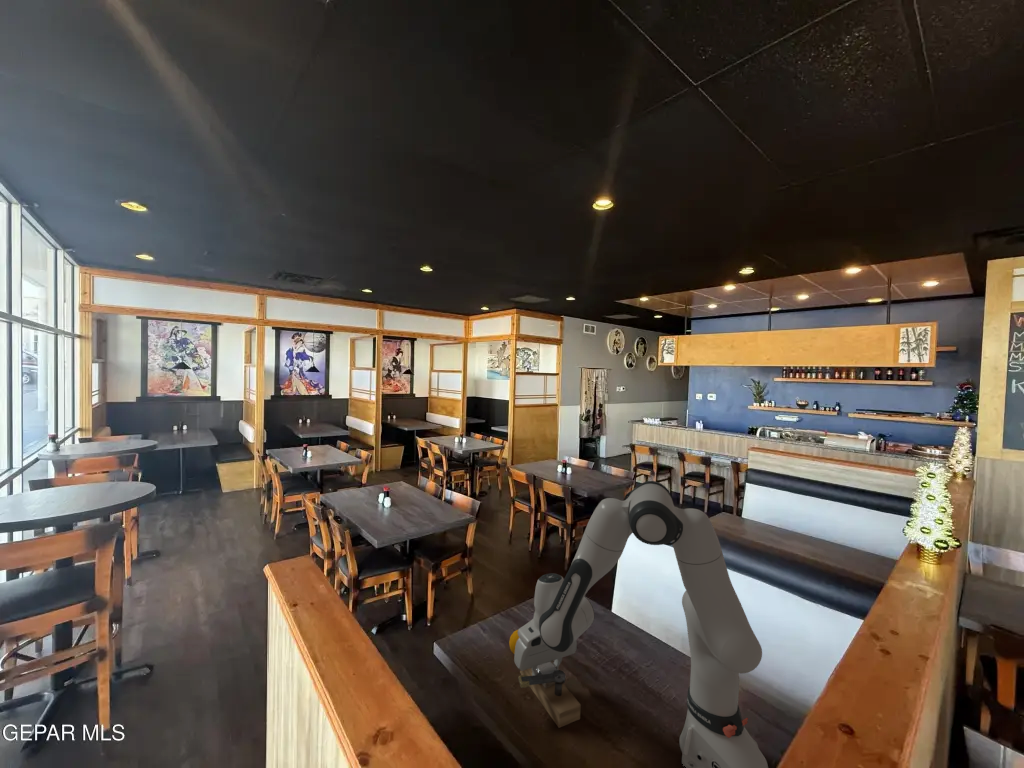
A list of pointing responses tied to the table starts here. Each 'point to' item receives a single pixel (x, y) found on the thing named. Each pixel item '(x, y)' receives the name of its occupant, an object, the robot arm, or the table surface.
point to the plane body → (557, 701)
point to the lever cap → (546, 672)
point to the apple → (513, 641)
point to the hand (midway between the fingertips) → (545, 673)
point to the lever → (542, 679)
